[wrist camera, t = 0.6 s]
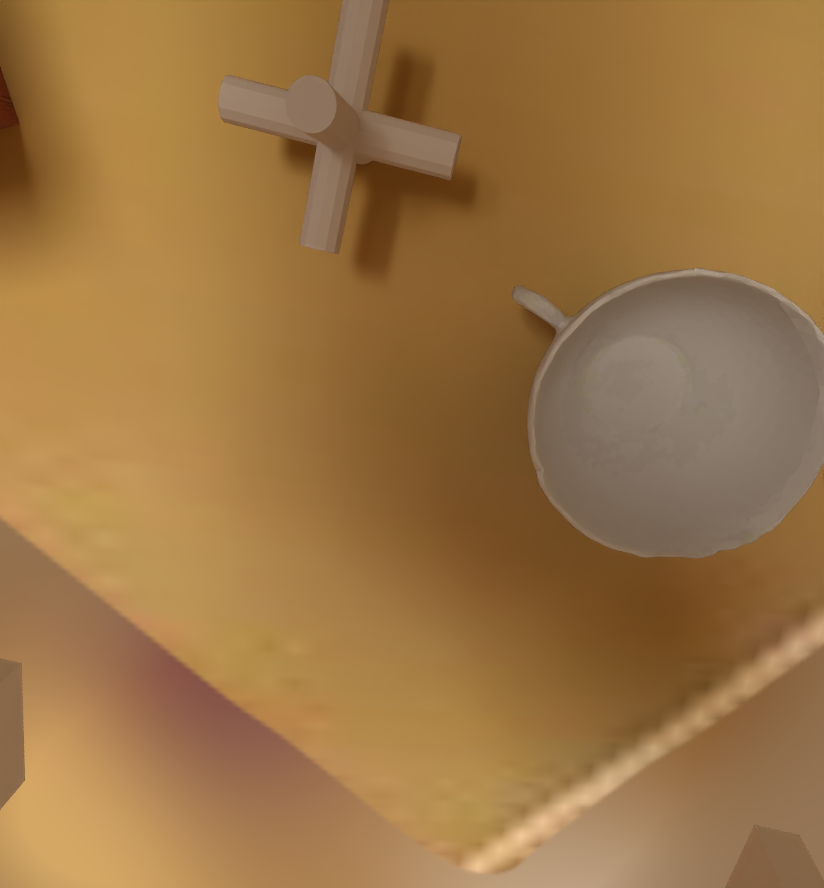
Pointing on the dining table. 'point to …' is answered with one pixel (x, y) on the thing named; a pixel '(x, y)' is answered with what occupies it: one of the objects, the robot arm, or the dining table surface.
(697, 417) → the teacup
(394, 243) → the dining table surface
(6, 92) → the box
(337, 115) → the pipe connector
